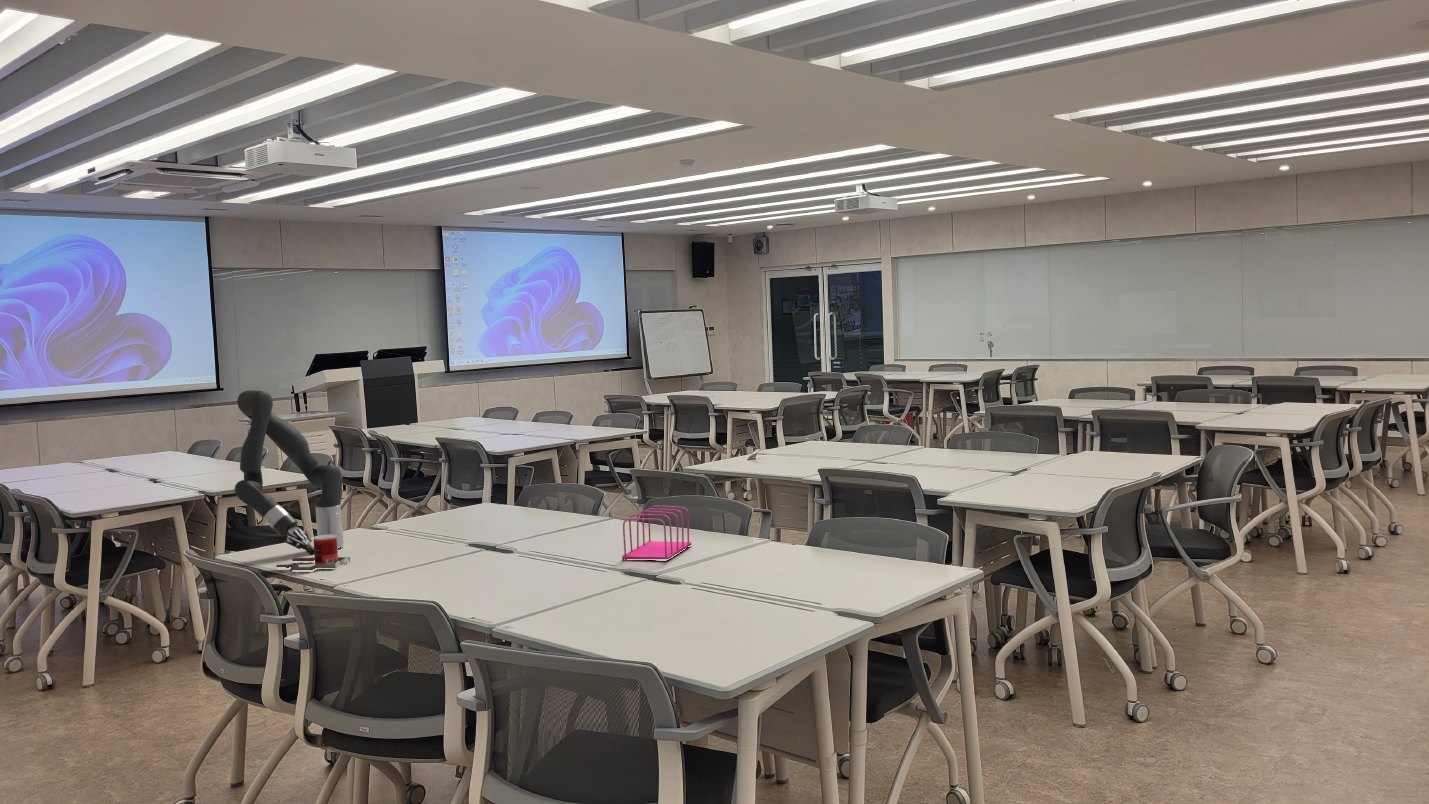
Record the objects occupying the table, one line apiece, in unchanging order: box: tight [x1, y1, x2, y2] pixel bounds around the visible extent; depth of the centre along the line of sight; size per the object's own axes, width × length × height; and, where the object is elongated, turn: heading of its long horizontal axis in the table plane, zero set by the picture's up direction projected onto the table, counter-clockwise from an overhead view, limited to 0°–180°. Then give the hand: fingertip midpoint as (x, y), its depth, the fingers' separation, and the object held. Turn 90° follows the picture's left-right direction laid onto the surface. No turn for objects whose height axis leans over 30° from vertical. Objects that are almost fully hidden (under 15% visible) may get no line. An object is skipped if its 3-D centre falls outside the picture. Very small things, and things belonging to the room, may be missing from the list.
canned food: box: [313, 534, 339, 565], centre depth 351 cm, size 8×8×11 cm
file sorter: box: [621, 505, 692, 560], centre depth 351 cm, size 17×25×16 cm
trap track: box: [276, 556, 351, 571], centre depth 352 cm, size 19×22×2 cm
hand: (314, 553), depth 352 cm, fingers closed
